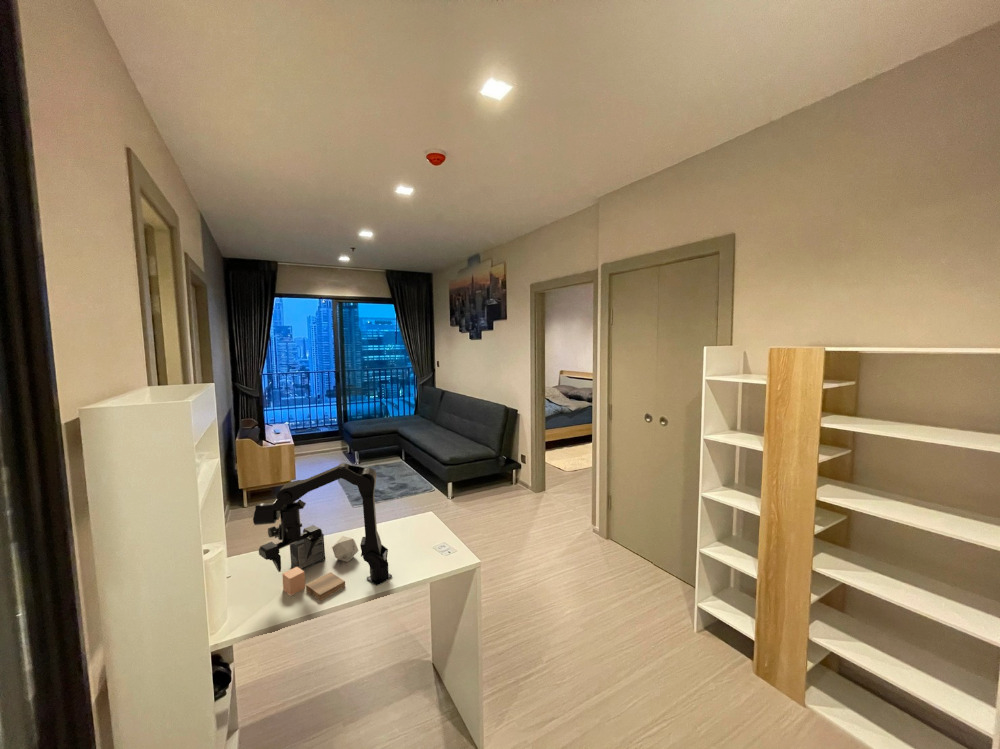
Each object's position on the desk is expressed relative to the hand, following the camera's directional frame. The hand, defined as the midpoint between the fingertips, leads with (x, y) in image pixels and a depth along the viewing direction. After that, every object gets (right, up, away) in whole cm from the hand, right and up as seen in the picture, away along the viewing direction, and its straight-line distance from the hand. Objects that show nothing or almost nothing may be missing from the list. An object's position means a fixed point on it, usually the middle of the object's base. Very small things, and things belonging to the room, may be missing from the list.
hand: (293, 565), depth 136 cm
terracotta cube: (0, -9, +1) cm, 9 cm away
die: (+10, -7, +19) cm, 23 cm away
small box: (-3, -7, +16) cm, 18 cm away
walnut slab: (+11, -9, +1) cm, 14 cm away
